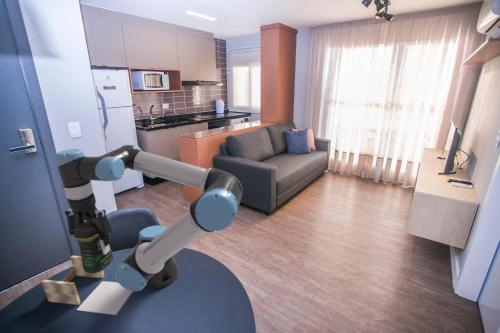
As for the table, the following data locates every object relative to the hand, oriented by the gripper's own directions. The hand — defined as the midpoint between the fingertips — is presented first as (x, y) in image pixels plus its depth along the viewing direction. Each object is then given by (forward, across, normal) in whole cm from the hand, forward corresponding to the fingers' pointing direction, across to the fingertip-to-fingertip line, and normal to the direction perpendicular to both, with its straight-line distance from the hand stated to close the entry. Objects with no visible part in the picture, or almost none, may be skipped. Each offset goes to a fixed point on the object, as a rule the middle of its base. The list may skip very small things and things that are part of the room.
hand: (96, 251), depth 90 cm
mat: (+22, 0, 0) cm, 22 cm away
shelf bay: (+22, +16, -2) cm, 27 cm away
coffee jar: (+6, 0, 0) cm, 6 cm away
